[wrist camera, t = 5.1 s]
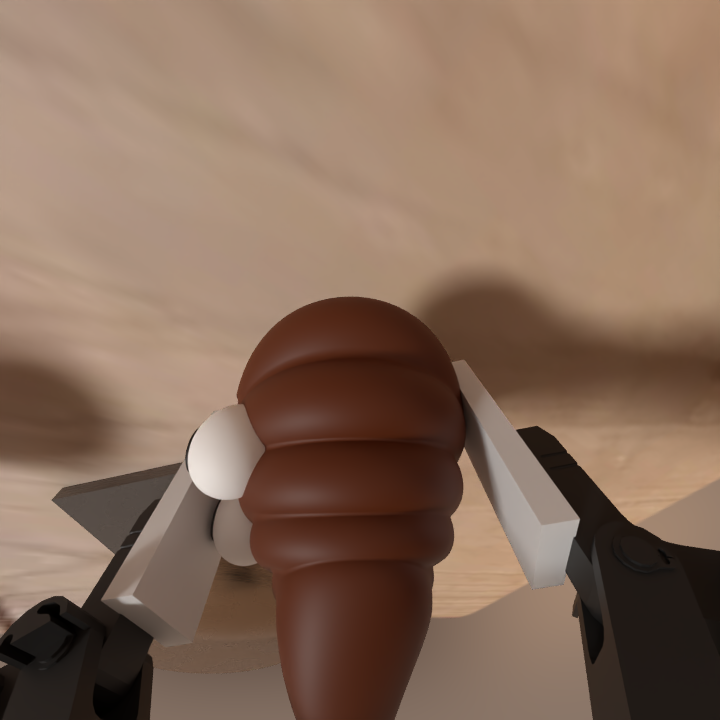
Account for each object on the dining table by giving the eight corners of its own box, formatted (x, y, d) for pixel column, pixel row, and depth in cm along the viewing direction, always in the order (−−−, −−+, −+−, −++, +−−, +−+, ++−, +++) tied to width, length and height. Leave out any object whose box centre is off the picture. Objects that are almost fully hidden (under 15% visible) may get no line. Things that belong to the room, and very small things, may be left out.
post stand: (316, 433, 22) (309, 527, 16) (369, 569, 32) (377, 659, 26) (62, 488, 23) (-38, 596, 17) (190, 603, 33) (157, 698, 26)
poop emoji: (427, 480, 15) (521, 801, 7) (259, 483, 15) (158, 831, 7) (467, 289, 11) (884, 612, 2) (221, 285, 10) (-292, 668, 2)
